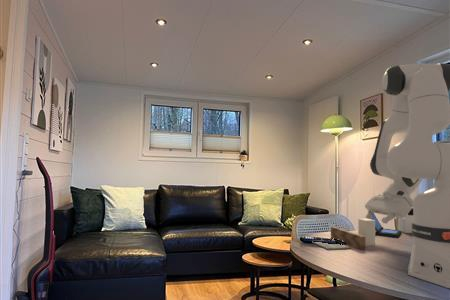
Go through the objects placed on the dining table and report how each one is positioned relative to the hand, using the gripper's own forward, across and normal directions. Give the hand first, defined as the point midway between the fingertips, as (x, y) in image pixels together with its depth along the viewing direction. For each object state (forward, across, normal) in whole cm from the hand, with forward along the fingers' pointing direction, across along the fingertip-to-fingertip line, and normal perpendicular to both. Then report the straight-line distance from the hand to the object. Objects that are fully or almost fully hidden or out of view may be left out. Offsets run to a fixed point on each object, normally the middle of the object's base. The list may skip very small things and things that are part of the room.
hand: (375, 220), depth 131 cm
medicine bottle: (-18, -19, +32) cm, 42 cm away
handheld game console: (-7, -18, +21) cm, 29 cm away
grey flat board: (+22, 0, -8) cm, 23 cm away
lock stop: (+10, 0, +4) cm, 11 cm away
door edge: (+15, -2, -2) cm, 16 cm away
